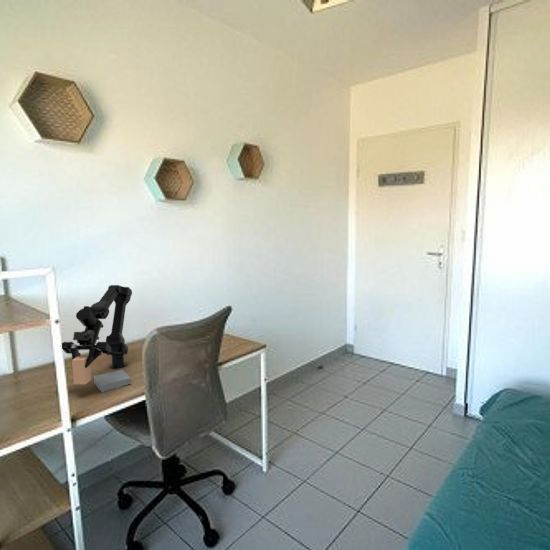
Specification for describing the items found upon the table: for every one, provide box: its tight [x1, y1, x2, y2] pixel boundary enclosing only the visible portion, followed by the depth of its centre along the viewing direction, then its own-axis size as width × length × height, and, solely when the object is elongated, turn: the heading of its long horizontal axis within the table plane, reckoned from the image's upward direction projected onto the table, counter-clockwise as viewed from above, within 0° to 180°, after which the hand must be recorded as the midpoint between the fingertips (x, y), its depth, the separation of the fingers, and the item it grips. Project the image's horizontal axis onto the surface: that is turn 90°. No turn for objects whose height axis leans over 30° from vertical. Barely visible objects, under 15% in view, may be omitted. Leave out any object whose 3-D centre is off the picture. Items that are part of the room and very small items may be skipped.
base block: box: [93, 369, 132, 393], centre depth 166 cm, size 12×12×3 cm
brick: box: [71, 355, 92, 385], centre depth 154 cm, size 5×5×10 cm
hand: (79, 367), depth 153 cm, fingers closed on brick, 5 cm apart
